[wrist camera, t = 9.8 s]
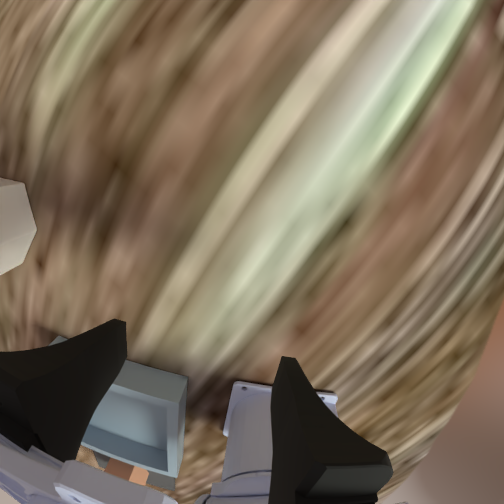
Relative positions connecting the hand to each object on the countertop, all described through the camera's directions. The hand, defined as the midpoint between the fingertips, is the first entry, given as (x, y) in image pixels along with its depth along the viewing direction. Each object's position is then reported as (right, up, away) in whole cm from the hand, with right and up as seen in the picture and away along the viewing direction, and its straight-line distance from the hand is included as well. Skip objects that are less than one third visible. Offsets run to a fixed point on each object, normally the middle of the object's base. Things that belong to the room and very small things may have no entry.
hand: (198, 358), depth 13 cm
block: (-14, -24, +17) cm, 32 cm away
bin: (-11, -12, +14) cm, 21 cm away
